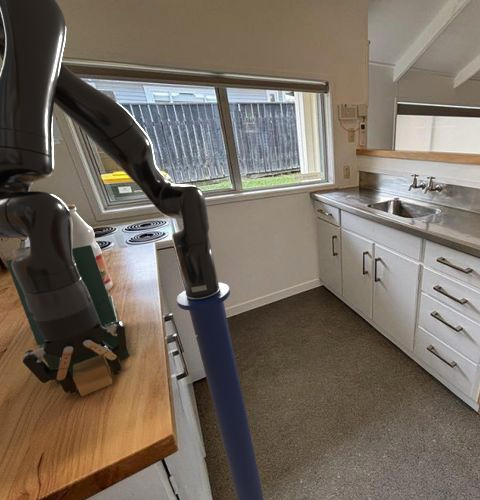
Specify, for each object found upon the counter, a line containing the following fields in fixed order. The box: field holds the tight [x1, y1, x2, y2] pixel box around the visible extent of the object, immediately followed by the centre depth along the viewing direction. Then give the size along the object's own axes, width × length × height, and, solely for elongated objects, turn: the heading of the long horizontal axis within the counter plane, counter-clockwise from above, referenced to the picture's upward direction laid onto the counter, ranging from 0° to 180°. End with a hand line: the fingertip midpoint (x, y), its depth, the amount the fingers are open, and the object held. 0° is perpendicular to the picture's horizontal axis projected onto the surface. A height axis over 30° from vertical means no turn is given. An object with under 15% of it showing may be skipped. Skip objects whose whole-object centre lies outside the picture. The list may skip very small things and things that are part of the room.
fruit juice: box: [64, 203, 114, 291], centre depth 87 cm, size 9×9×28 cm
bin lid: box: [5, 245, 117, 347], centre depth 53 cm, size 16×12×5 cm
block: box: [73, 355, 113, 397], centre depth 55 cm, size 4×4×4 cm
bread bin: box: [38, 295, 130, 385], centre depth 63 cm, size 16×12×9 cm
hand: (95, 381), depth 55 cm, fingers open, 5 cm apart
